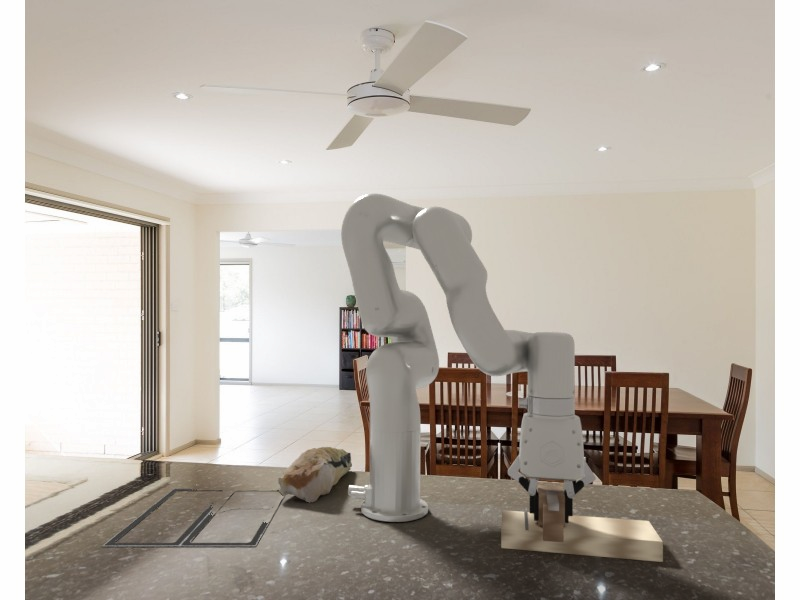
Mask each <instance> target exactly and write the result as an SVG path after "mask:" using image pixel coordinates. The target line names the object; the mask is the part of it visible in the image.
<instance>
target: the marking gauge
mask: <svg viewBox="0 0 800 600" xmlns="http://www.w3.org/2000/svg"><path fill="white" fill-rule="evenodd" d="M537 492H538V496H539V520H538V522H539V525H540V526H543V541H552V542H564V527H565V495H564V489H563V486H561V485H560V486H559V485H558V486H557V485H556V486H555V485H540V484H537Z"/></svg>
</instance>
